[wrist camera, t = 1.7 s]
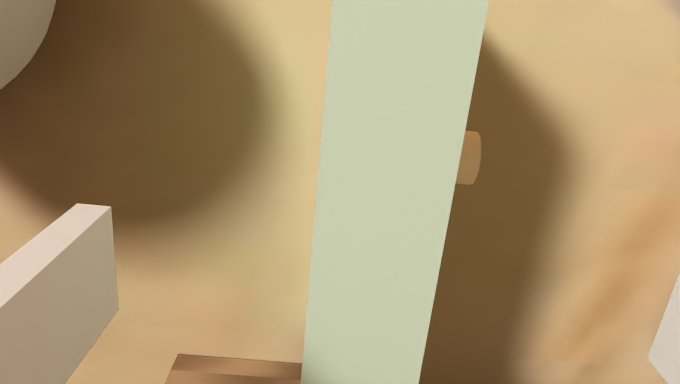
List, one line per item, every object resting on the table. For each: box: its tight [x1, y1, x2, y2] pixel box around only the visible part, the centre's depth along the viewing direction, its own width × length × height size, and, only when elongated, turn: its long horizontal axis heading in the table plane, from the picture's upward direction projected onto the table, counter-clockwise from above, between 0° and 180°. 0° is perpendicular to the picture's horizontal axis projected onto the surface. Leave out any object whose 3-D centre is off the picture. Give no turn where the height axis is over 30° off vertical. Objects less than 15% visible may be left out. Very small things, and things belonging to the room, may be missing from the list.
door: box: [301, 0, 489, 384], centre depth 16 cm, size 4×14×8 cm, turn 175°
